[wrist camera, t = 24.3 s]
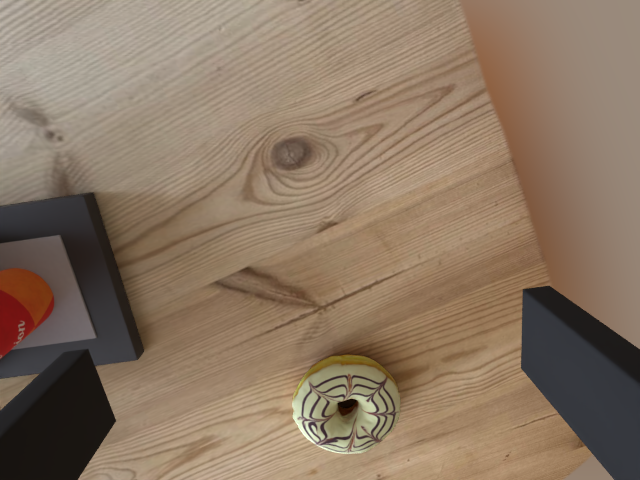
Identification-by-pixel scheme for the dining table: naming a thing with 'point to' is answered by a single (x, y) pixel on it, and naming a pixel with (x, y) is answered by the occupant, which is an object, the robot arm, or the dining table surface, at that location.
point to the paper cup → (22, 306)
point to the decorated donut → (346, 423)
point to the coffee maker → (68, 283)
